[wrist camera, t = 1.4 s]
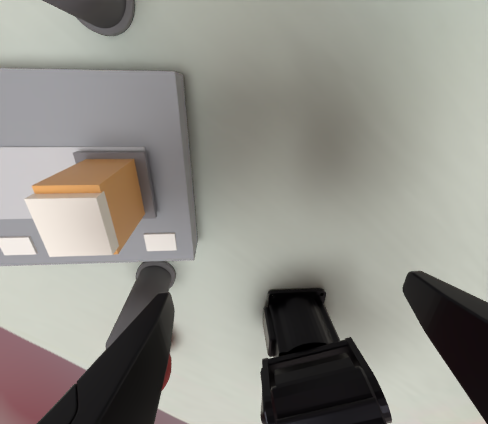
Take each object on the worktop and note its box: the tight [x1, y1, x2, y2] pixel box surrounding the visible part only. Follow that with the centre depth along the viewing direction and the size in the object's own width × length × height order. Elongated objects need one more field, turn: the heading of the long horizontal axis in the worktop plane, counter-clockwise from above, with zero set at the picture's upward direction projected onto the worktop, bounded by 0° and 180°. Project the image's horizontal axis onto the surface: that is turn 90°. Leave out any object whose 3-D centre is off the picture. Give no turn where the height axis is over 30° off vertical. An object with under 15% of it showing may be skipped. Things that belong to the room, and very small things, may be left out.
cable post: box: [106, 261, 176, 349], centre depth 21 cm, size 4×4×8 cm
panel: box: [0, 68, 198, 266], centre depth 18 cm, size 16×14×3 cm
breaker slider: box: [24, 151, 157, 257], centre depth 14 cm, size 4×5×6 cm
